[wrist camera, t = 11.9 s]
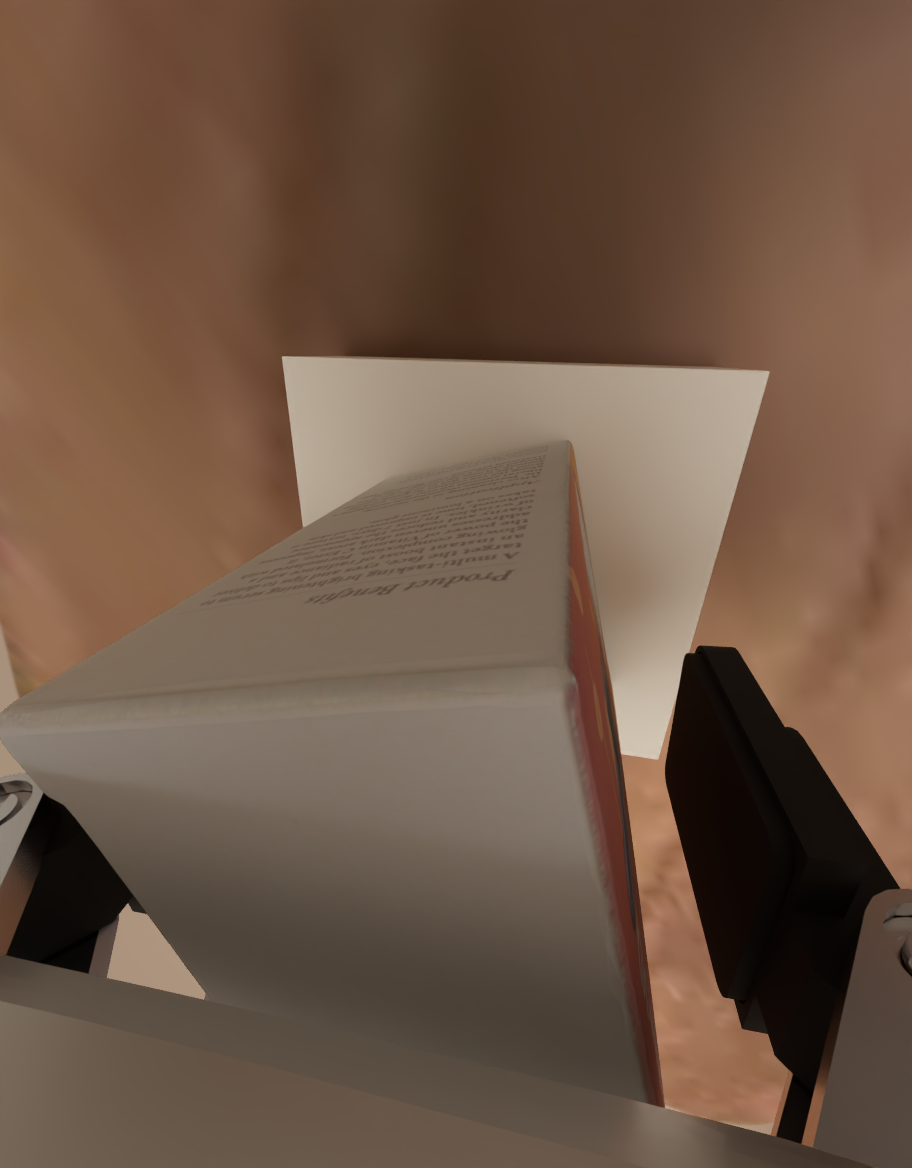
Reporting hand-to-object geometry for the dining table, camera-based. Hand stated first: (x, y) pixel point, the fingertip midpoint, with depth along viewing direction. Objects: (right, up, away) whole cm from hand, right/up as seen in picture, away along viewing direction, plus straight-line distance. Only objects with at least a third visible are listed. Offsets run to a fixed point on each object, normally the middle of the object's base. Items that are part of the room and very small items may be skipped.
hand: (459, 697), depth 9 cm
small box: (+1, +2, +5) cm, 6 cm away
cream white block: (+2, +4, +9) cm, 10 cm away
